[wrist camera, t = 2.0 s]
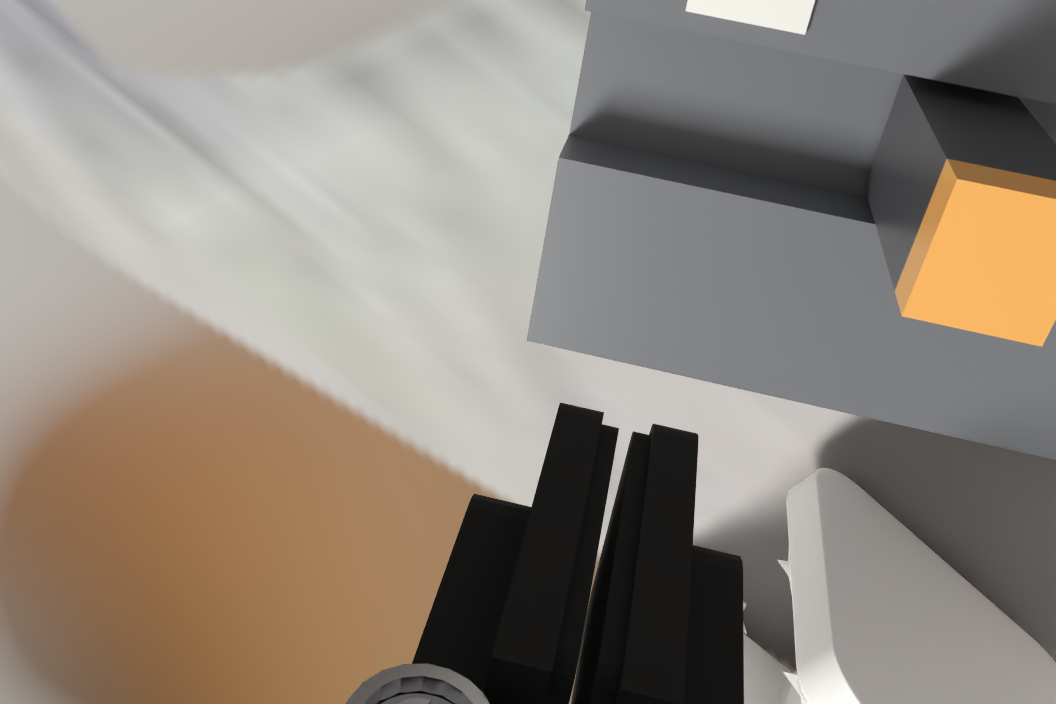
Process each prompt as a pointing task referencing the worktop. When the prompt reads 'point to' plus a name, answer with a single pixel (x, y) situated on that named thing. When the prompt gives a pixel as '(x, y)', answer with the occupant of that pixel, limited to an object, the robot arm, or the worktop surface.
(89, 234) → the worktop surface
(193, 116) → the worktop surface
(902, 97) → the block
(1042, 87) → the breaker panel
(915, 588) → the cable organizer
